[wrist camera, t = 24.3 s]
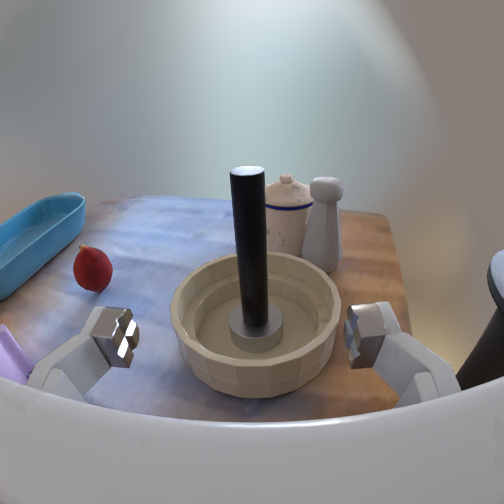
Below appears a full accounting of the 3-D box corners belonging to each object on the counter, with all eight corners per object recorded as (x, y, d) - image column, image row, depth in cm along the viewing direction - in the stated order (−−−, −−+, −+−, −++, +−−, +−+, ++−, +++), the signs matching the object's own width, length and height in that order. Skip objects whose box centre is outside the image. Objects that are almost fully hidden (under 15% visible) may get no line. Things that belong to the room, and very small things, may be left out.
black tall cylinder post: (281, 314, 33) (281, 159, 24) (284, 352, 29) (287, 181, 19) (232, 315, 34) (214, 162, 24) (228, 353, 29) (203, 184, 20)
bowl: (320, 287, 38) (324, 248, 35) (343, 396, 24) (357, 360, 21) (196, 290, 39) (188, 252, 36) (170, 398, 25) (151, 362, 22)
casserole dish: (-14, 332, 31) (-36, 297, 27) (-46, 298, 37) (-60, 271, 33) (111, 221, 60) (103, 190, 56) (56, 216, 66) (48, 191, 62)
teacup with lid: (313, 232, 51) (315, 167, 44) (316, 262, 43) (321, 187, 37) (243, 231, 52) (239, 167, 46) (235, 261, 45) (228, 186, 38)
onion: (112, 274, 43) (97, 229, 39) (123, 292, 39) (107, 243, 35) (80, 289, 40) (62, 244, 36) (88, 309, 36) (67, 261, 32)
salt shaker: (331, 283, 39) (340, 191, 32) (293, 270, 42) (295, 182, 35) (345, 261, 43) (355, 177, 36) (311, 251, 46) (315, 170, 39)
